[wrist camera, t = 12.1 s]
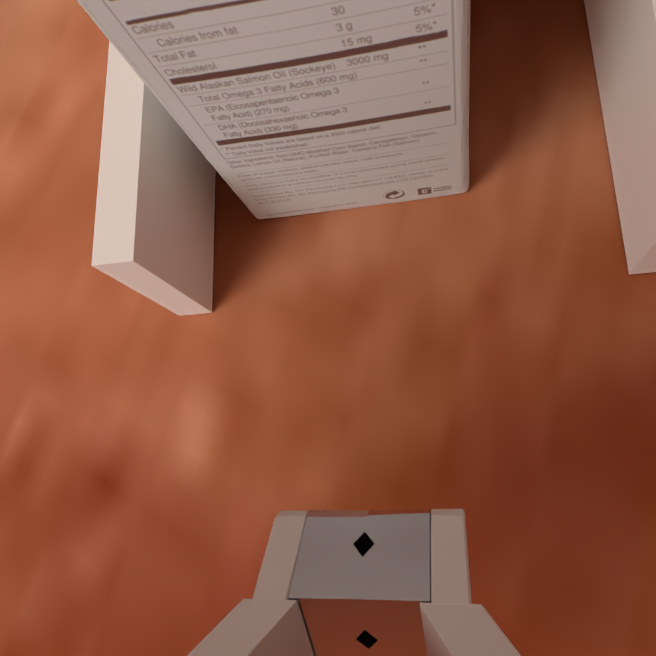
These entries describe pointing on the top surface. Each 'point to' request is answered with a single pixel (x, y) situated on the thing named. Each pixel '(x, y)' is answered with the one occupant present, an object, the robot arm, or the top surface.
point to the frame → (199, 175)
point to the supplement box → (309, 93)
